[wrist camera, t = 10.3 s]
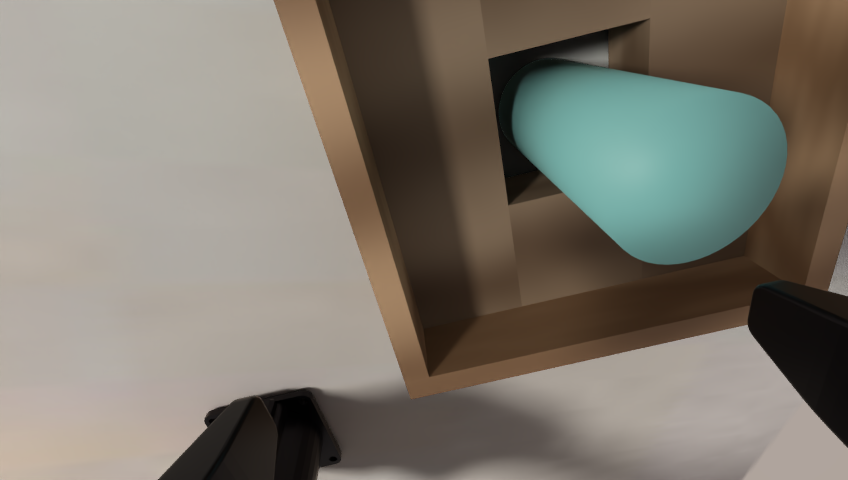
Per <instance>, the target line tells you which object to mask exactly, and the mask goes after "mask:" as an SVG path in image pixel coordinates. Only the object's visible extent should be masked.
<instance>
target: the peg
mask: <svg viewBox="0 0 848 480" xmlns="http://www.w3.org/2000/svg"><path fill="white" fill-rule="evenodd" d="M499 122H500V126H501V129H502V131H503V133H504V135H505V137H506V138H507V139H508V140H509V142H510V143H511V144H512V145H514V146H515V147H516V148H517V149H518V150H519V151H520V152H521V153H522V154H523V155H524V156H525V157H526V158H527V159H528V160H529V161H530V162H531V163H533V164H534V165H535V166H536V167H537V168H538V169H539V170H540V171H541V172H542V173H543V174H544V175H545V176H546V177H547V178H548V179H549V180H550V181H552V182H553V183H554V184H555V185H556V186H557V187H558V188H559V189H560V190H561V191H562V192H563V193H564V194H565V195H566V196H567V197H568V198H570V199H571V200H572V201H573V202H574V203H575V204H576V205H577V206H578V207H579V208H580V209H581V210H582V211H583V212H584V213H585V214H586V215H587V216H589V217H590V218H591V219H592V220H593V221H594V222H595V223H596V224H597V225H598V226H599V227H600V228H601V229H602V230H603V231H604V232H605V233H607V234H608V235H609V236H610V237H611V238H612V239H613V240H614V241H615V242H616V243H617V244H618V245H619V246H620V247H621V248H622V249H623V250H625V251H626V252H627V253H629V254H630V255H631V256H633V257H635V258H637V259H639V260H642V261H645V262H648V263H654V264H664V265H670V264H680V263H686V262H690V261H694V260H697V259H700V258H703V257H706V256H708V255H710V254H712V253H714V252H716V251H718V250H720V249H722V248H724V247H725V246H727V245H729V244H730V243H732V242H733V241H734V240H736V239H737V238H738V237H740V236H741V235H742V234H743V233H744V232H745V231H747V230H748V229H749V228H750V227H751V226H752V225H753V224H754V223H755V222H756V221H757V220H758V218H759V217H760V216H761V215H762V213H763V212H764V211H765V210H766V208H767V207H768V205H769V204H770V202H771V201H772V199H773V197H774V195H775V194H776V192H777V190H778V188H779V185H780V183H781V180H782V178H783V174H784V171H785V167H786V161H787V139H786V133H785V130H784V127H783V125H782V122H781V121H780V119H779V117H778V116H777V114H776V113H775V112H774V111H773V110H772V108H771V107H770V106H768V105H767V104H766V103H764V102H763V101H761V100H759V99H757V98H755V97H753V96H750V95H747V94H743V93H739V92H734V91H728V90H723V89H718V88H712V87H707V86H701V85H696V84H691V83H685V82H680V81H675V80H669V79H664V78H658V77H653V76H648V75H642V74H637V73H632V72H626V71H621V70H616V69H610V68H605V67H599V66H594V65H589V64H583V63H578V62H573V61H567V60H562V59H555V58H545V59H540V60H536V61H533V62H531V63H529V64H527V65H526V66H524V67H522V68H521V69H520V70H519V71H518V72H516V73H515V75H514V76H513V77H512V78H511V79H510V80H509V82H508V83H507V85H506V87H505V88H504V91H503V93H502V96H501V99H500V103H499Z"/></svg>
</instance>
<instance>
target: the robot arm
mask: <svg viewBox="0 0 848 480" xmlns="http://www.w3.org/2000/svg"><path fill="white" fill-rule="evenodd" d="M747 323H748V327H749V330H750V332H751V334H752V335H753V337H754V338H755V339H756V341H757V342H758V343H759V344H760V346H761V347H762V348H763V349H764V351H765V352H766V353H767V354H768V356H769V357H770V358H771V359H772V361H773V362H774V363H775V364H776V366H777V367H778V368H779V369H780V371H781V372H782V373H783V374H784V376H785V377H786V378H787V379H788V381H789V382H790V383H791V384H792V386H793V387H794V388H795V389H796V391H797V392H798V393H799V394H800V396H801V397H802V398H803V399H804V401H805V402H806V403H807V404H808V405H809V406H810V408H811V409H812V410H813V411H814V412H815V413H816V414H817V416H818V417H820V419H821V420H822V421H823V422H824V423H825V424H826V425H827V426H828V428H829V429H830V430H831V431H832V432H833V433H834V434H835V435H836V436H837V437H838V438H839V439H840V440H841V441H842V442H843V443H844V444H845V445H846V447H847V448H848V296H844V295H840V294H836V293H833V292H829V291H825V290H821V289H817V288H813V287H810V286H806V285H802V284H798V283H794V282H791V281H786V280H777V281H772V282H768V283H763V284H760V285H758V286H756V288H755V289H754V291H753V294H752V299H751V304H750V309H749V314H748V320H747ZM303 398H304V399H303ZM204 422H205V424H206V425H207V427H208V428H207V429H206V430H205V431H204V432H203V433H202V434H201V435H200V436H199V437H198V438H197V439H196V440H195V441H194V442H193V443H192V445H191V446H190V447H189V448H188V449H187V450H186V451H185V452H184V453H183V454H182V455H181V456H180V457H179V458H178V459H177V460H176V461H175V462H174V463H173V464H172V466H171V467H170V468H169V469H168V470H167V471H166V472H165V473H164V474H163V475H162V476H161V477H160V478H159V479H158V480H317V477H318V470H319V467H323V466H327V465H332V464H336V463H339V462H340V460H341V454H342V453H341V450H340V448H339V446H338V444H337V442H336V440H335V438H334V436H333V434H332V432H331V430H330V428H329V426H328V424H327V422H326V420H325V419H324V417H323V415H322V413H321V411H320V409H319V407H318V405H317V403H316V401H315V399H314V397H313V395H312V393H311V392H309V391H307V390H300V391H296V392H292V393H287V394H283V395H278V396H274V397H269V398H265V399H261V398H260V397H258V396H249V397H244V398H240V399H237V400H234V401H233V402H232V403H231V404H230V405H229V406H228V407H225V408H221V409H216V410H212V411H209V412H208V413H207V415H206V417H205V420H204Z"/></svg>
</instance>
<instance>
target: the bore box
mask: <svg viewBox="0 0 848 480" xmlns="http://www.w3.org/2000/svg"><path fill="white" fill-rule="evenodd" d="M274 3H275V5H276V8H277V11H278V14H279V17H280V20H281V23H282V26H283V29H284V32H285V35H286V37H287V40H288V43H289V46H290V49H291V52H292V55H293V58H294V61H295V64H296V67H297V70H298V72H299V75H300V78H301V81H302V84H303V87H304V90H305V93H306V96H307V99H308V102H309V104H310V107H311V110H312V113H313V116H314V119H315V122H316V125H317V128H318V131H319V134H320V136H321V139H322V142H323V145H324V148H325V151H326V154H327V157H328V160H329V163H330V166H331V168H332V171H333V174H334V177H335V180H336V183H337V186H338V189H339V192H340V195H341V198H342V200H343V203H344V206H345V209H346V212H347V215H348V218H349V221H350V224H351V227H352V230H353V232H354V235H355V238H356V241H357V244H358V247H359V250H360V253H361V256H362V259H363V262H364V265H365V267H366V270H367V273H368V276H369V279H370V282H371V285H372V288H373V291H374V294H375V297H376V299H377V302H378V305H379V308H380V311H381V314H382V317H383V320H384V323H385V326H386V329H387V331H388V334H389V337H390V340H391V343H392V346H393V349H394V352H395V355H396V358H397V361H398V363H399V366H400V369H401V372H402V375H403V378H404V381H405V384H406V387H407V390H408V393H409V395H410V398H411V399H415V398H420V397H424V396H429V395H433V394H438V393H442V392H447V391H451V390H456V389H460V388H465V387H469V386H474V385H478V384H483V383H487V382H492V381H496V380H501V379H505V378H510V377H514V376H519V375H523V374H528V373H532V372H537V371H541V370H546V369H550V368H555V367H559V366H564V365H568V364H573V363H577V362H582V361H586V360H591V359H595V358H600V357H604V356H609V355H613V354H618V353H622V352H627V351H631V350H636V349H640V348H645V347H649V346H654V345H658V344H663V343H667V342H672V341H676V340H681V339H685V338H690V337H694V336H698V335H703V334H707V333H712V332H716V331H721V330H725V329H730V328H734V327H739V326H743V325H748V323H747V320H748V314H749V309H750V304H751V299H752V294H753V291H754V289H755V288H756V286H758V285H760V284H763V283H768V282H772V281H777V280H786V281H791V282H794V283H798V284H802V285H806V286H810V287H813V288H817V289H821V290H825V291H828V288H829V285H830V282H831V278H832V275H833V272H834V268H835V265H836V261H837V258H838V255H839V251H840V248H841V245H842V241H843V238H844V234H845V231H846V228H847V224H848V0H274ZM605 29H608V51H609V68H610V69H616V70H621V71H626V72H632V73H637V74H642V75H648V76H653V77H658V78H664V79H669V80H675V81H680V82H685V83H691V84H696V85H701V86H707V87H712V88H718V89H723V90H728V91H734V92H739V93H743V94H747V95H750V96H753V97H755V98H757V99H759V100H761V101H763V102H764V103H766V104H767V105H768V106H770V107H771V108H772V110H773V111H774V112H775V113H776V114H777V116H778V117H779V119H780V121H781V122H782V125H783V127H784V130H785V133H786V139H787V161H786V167H785V171H784V174H783V178H782V180H781V183H780V185H779V188H778V190H777V192H776V194H775V195H774V197H773V199H772V201H771V202H770V204H769V205H768V207H767V208H766V210H765V211H764V212H763V213H762V215H761V216H760V217H759V218H758V220H757V221H756V222H755V223H754V224H753V225H752V226H751V227H750V228H749V229H748V230H747V231H745V232H744V233H743V234H742V235H741V236H740V237H738V238H737V239H736V240H734V241H733V242H732V243H730V244H729V245H727V246H725V247H724V248H722V249H720V250H718V251H716V252H714V253H712V254H710V255H708V256H706V257H703V258H700V259H697V260H694V261H690V262H686V263H680V264H670V265H664V264H654V263H648V262H645V261H642V260H639V259H637V258H635V257H633V256H631V255H630V254H629V253H627V252H626V251H625V250H623V249H622V248H621V247H620V246H619V245H618V244H617V243H616V242H615V241H614V240H613V239H612V238H611V237H610V236H609V235H608V234H607V233H605V232H604V231H603V230H602V229H601V228H600V227H599V226H598V225H597V224H596V223H595V222H594V221H593V220H592V219H591V218H590V217H589V216H587V215H586V214H585V213H584V212H583V211H582V210H581V209H580V208H579V207H578V206H577V205H576V204H575V203H574V202H573V201H572V200H571V199H570V198H568V197H567V196H566V195H565V194H564V193H563V192H562V191H561V190H560V189H559V188H558V187H557V186H556V185H555V184H554V183H553V182H552V181H550V180H549V179H548V178H547V177H546V176H545V175H544V174H543V173H542V172H541V171H540V170H537V171H532V172H528V173H524V174H520V175H516V176H512V177H507V178H504V171H503V164H502V157H501V149H500V142H499V135H498V128H497V120H496V113H495V106H494V98H493V91H492V84H491V77H490V69H489V62H488V59H489V58H493V57H497V56H501V55H505V54H509V53H513V52H517V51H521V50H525V49H529V48H533V47H537V46H541V45H545V44H549V43H553V42H557V41H561V40H565V39H569V38H573V37H577V36H581V35H585V34H589V33H593V32H597V31H601V30H605Z"/></svg>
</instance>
